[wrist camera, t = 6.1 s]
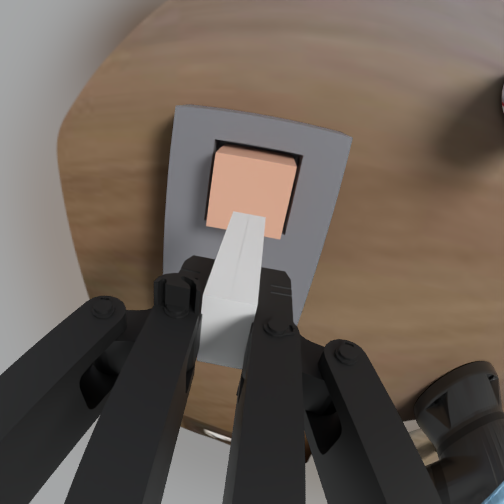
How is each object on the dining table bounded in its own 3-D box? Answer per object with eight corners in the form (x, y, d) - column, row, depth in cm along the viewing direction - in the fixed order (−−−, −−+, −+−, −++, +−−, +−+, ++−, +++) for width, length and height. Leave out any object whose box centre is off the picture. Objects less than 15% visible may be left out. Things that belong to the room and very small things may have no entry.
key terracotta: (279, 217, 24) (280, 239, 21) (216, 205, 24) (206, 226, 20) (292, 155, 22) (296, 167, 18) (225, 143, 22) (215, 152, 18)
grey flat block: (286, 329, 31) (286, 353, 28) (172, 308, 31) (163, 330, 28) (341, 132, 22) (352, 137, 19) (189, 104, 22) (175, 105, 19)
